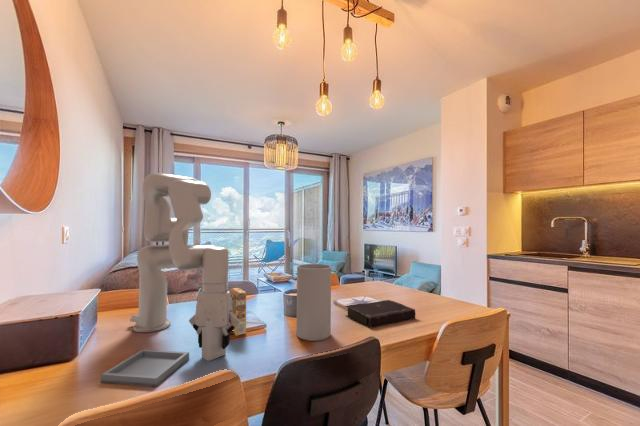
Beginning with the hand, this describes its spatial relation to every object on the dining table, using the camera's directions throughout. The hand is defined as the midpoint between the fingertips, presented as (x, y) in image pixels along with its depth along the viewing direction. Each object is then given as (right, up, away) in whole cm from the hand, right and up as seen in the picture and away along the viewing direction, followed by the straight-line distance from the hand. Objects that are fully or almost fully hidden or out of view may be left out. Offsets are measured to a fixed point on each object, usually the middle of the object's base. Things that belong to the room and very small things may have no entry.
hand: (213, 346), depth 90 cm
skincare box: (0, -3, 0) cm, 3 cm away
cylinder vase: (+30, -4, +18) cm, 35 cm away
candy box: (+1, -4, +21) cm, 21 cm away
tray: (-15, -3, -9) cm, 17 cm away
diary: (+58, -6, +39) cm, 70 cm away
